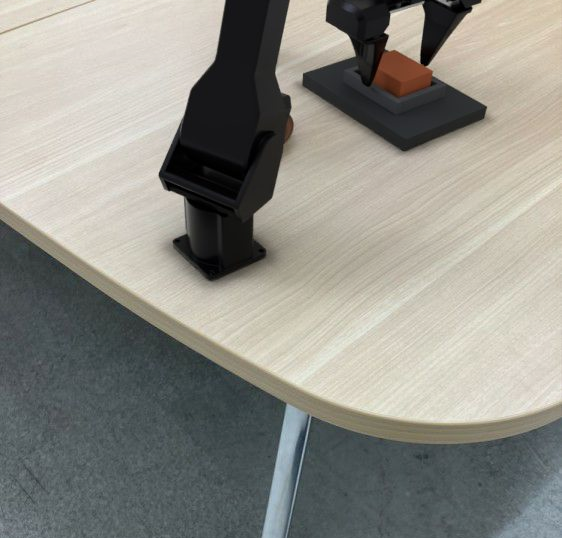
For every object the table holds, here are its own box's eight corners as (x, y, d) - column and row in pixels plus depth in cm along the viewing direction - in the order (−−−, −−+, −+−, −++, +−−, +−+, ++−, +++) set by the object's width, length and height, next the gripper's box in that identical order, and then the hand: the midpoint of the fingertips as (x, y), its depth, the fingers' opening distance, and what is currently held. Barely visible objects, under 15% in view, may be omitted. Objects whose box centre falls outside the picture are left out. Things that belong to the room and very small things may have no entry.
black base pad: (484, 118, 92) (490, 94, 90) (403, 151, 86) (408, 126, 84) (380, 58, 101) (384, 35, 99) (302, 85, 96) (303, 61, 93)
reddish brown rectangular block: (428, 95, 92) (433, 70, 90) (397, 107, 90) (401, 82, 88) (390, 73, 95) (394, 49, 93) (360, 84, 93) (363, 59, 91)
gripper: (427, -109, 88) (405, 30, 100) (297, -81, 80) (289, 68, 91) (502, -79, 82) (470, 65, 94) (370, -46, 74) (352, 108, 86)
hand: (395, 74), depth 91 cm, fingers open, 9 cm apart
